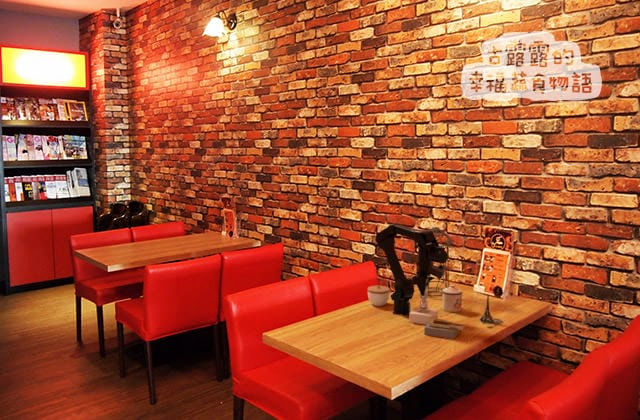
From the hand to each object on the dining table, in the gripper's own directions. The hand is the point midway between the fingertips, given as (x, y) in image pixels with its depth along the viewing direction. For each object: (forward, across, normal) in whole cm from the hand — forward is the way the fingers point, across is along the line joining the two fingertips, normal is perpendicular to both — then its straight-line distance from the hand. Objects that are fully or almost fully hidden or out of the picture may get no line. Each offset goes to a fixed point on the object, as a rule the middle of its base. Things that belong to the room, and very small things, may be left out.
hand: (424, 294), depth 235 cm
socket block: (+11, -12, -11) cm, 20 cm away
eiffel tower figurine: (+12, +10, -26) cm, 30 cm away
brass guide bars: (+8, -12, -13) cm, 20 cm away
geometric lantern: (+12, +42, +6) cm, 44 cm away
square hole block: (+12, 0, 0) cm, 12 cm away
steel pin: (+6, 0, 0) cm, 6 cm away
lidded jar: (+12, +14, +26) cm, 32 cm away
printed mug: (+12, +22, -8) cm, 26 cm away
